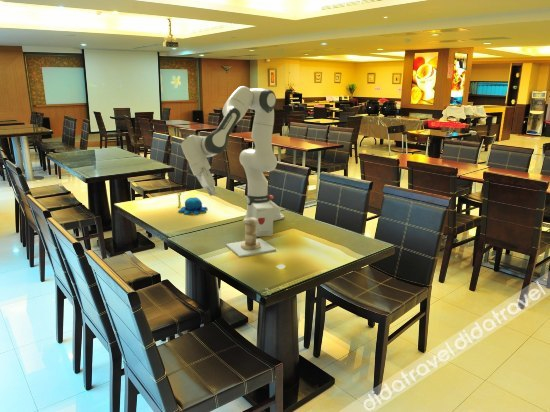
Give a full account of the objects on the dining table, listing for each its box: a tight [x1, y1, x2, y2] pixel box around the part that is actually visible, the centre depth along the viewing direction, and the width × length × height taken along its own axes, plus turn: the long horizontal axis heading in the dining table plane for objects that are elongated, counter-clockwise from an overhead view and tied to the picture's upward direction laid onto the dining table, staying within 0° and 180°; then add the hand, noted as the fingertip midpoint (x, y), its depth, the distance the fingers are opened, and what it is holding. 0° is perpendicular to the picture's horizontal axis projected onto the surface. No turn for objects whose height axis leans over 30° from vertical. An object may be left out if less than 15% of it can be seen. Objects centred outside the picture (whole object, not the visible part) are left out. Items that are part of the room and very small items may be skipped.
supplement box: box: [253, 203, 274, 238], centre depth 213 cm, size 9×9×15 cm
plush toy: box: [177, 197, 208, 216], centre depth 251 cm, size 17×17×8 cm
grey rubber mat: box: [225, 237, 277, 258], centre depth 195 cm, size 18×16×1 cm
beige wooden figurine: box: [241, 217, 260, 250], centre depth 193 cm, size 9×9×13 cm
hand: (213, 195), depth 201 cm, fingers open, 8 cm apart
